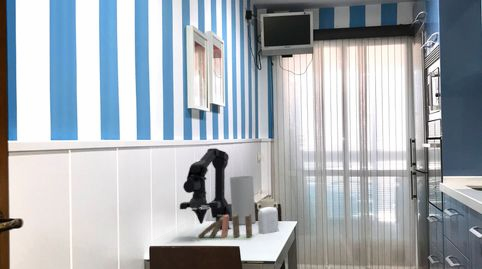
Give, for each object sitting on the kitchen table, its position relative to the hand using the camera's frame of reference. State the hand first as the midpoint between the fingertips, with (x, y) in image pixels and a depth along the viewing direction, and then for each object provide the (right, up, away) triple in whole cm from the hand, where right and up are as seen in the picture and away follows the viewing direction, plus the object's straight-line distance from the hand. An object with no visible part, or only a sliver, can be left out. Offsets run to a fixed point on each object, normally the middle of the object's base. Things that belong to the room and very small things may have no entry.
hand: (201, 223), depth 238 cm
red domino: (+11, -6, -3) cm, 13 cm away
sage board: (+11, -6, -3) cm, 13 cm away
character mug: (+33, -6, +29) cm, 44 cm away
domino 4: (+22, -5, -6) cm, 24 cm away
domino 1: (0, -6, 0) cm, 6 cm away
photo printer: (+32, -6, +5) cm, 33 cm away
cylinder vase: (+20, -7, +37) cm, 43 cm away
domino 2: (+5, -6, -1) cm, 8 cm away
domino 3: (+17, -6, -4) cm, 18 cm away
